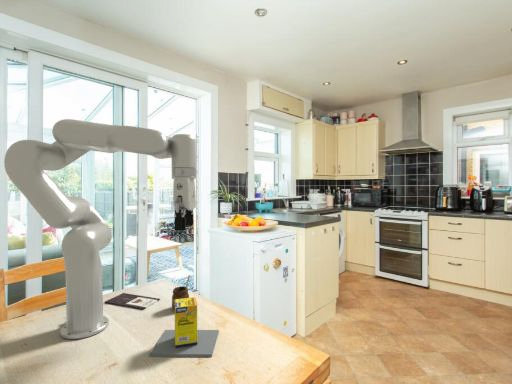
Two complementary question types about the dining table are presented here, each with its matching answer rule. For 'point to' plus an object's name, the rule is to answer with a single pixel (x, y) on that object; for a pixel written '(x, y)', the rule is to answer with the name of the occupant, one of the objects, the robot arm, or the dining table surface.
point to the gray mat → (202, 349)
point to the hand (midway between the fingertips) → (184, 227)
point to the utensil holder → (179, 293)
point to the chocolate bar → (132, 301)
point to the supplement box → (185, 322)
